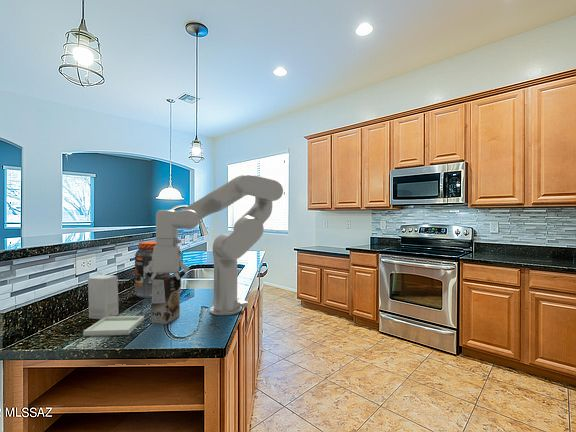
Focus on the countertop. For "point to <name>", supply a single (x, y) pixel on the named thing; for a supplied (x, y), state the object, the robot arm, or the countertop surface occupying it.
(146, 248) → the supplement tub
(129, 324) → the tray
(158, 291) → the coffee box
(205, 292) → the countertop surface
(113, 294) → the skincare box
